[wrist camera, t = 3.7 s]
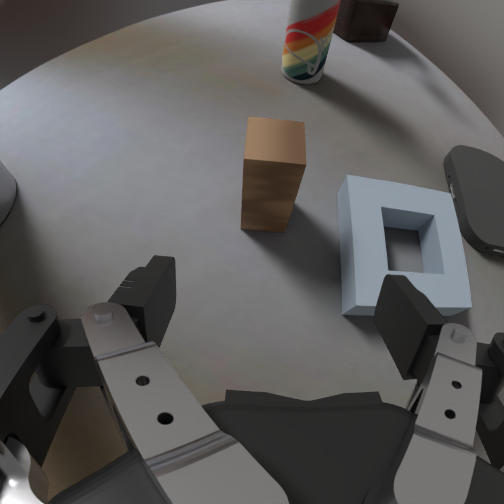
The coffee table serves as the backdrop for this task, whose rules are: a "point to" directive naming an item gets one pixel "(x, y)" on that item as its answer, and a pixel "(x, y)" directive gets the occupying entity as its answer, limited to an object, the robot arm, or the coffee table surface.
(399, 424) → the robot arm
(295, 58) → the lotion bottle
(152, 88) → the coffee table surface
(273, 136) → the peg
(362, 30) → the manual coffee grinder
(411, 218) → the socket
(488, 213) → the media streaming box
